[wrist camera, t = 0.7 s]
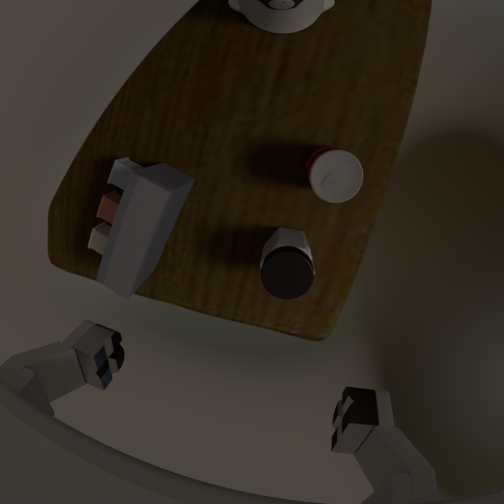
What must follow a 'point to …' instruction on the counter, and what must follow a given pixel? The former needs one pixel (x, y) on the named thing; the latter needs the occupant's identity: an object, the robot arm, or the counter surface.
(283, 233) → the jar
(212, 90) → the counter surface
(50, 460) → the robot arm
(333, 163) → the canned food
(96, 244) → the ivory key
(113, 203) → the brick key
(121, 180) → the blue-grey key
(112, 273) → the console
